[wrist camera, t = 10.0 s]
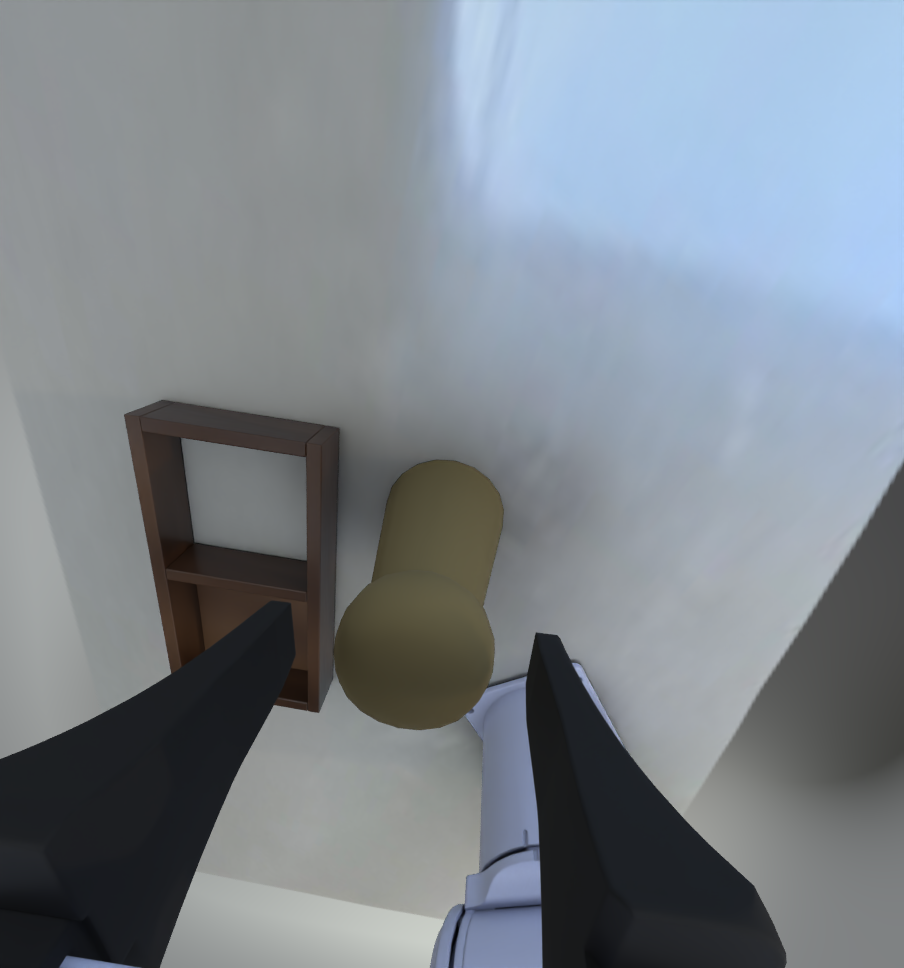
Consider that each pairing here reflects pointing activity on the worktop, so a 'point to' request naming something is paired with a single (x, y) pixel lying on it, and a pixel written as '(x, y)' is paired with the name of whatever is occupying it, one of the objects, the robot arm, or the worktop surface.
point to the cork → (425, 602)
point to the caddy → (231, 573)
